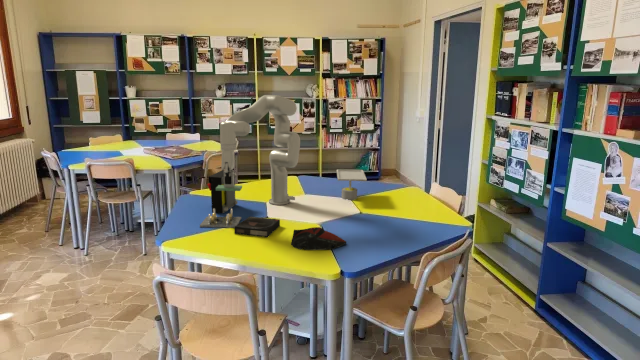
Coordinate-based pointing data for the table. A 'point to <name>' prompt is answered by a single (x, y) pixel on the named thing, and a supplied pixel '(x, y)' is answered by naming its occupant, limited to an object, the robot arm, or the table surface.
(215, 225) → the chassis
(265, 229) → the portable cd player
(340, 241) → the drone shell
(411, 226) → the table surface
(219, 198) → the electrical component
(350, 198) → the solar panel model
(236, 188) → the board
